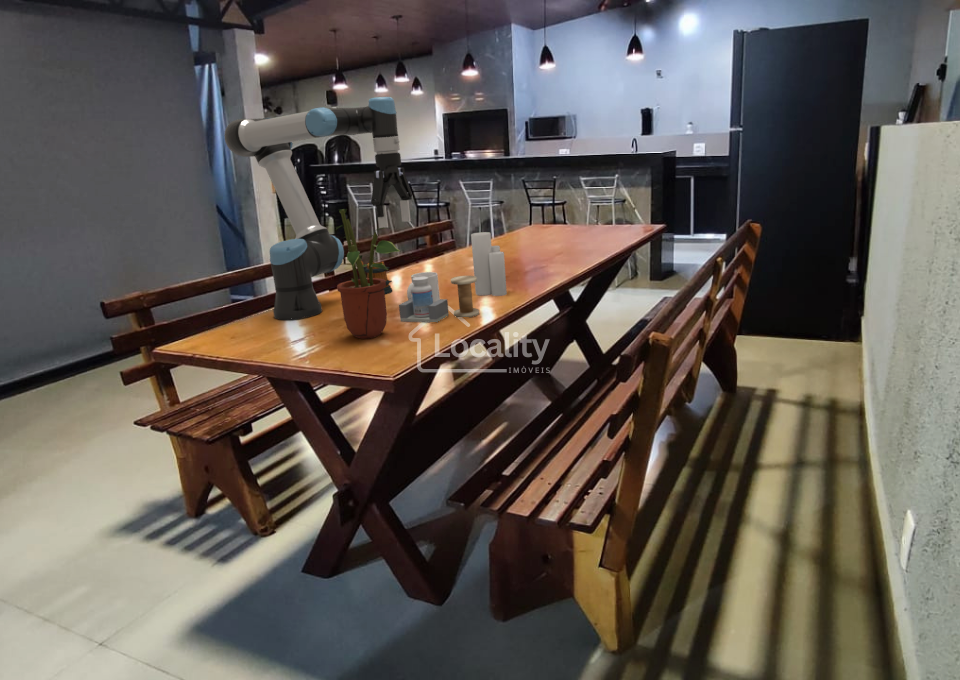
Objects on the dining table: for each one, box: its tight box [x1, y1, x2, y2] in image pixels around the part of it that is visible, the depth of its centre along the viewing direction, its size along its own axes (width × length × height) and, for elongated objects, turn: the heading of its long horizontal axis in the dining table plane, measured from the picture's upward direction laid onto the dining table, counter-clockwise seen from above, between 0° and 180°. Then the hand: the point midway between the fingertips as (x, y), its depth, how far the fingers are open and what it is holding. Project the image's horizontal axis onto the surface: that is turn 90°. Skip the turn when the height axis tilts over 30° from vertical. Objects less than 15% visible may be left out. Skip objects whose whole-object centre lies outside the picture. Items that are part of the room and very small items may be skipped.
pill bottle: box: [411, 277, 433, 317], centre depth 198 cm, size 6×6×11 cm
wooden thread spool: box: [450, 275, 480, 318], centre depth 199 cm, size 8×8×11 cm
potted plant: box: [336, 208, 401, 340], centre depth 183 cm, size 17×16×35 cm
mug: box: [406, 271, 441, 303], centre depth 211 cm, size 12×8×10 cm
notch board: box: [398, 298, 450, 323], centre depth 199 cm, size 12×8×5 cm, turn 66°
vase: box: [470, 231, 508, 297], centre depth 222 cm, size 11×7×20 cm, turn 66°
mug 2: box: [361, 260, 393, 296], centre depth 239 cm, size 13×10×12 cm
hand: (395, 224), depth 205 cm, fingers open, 13 cm apart
